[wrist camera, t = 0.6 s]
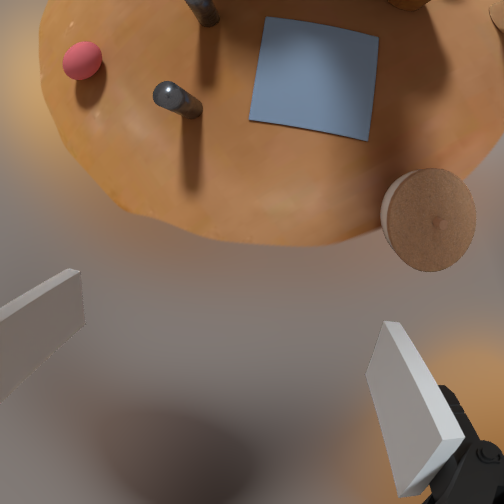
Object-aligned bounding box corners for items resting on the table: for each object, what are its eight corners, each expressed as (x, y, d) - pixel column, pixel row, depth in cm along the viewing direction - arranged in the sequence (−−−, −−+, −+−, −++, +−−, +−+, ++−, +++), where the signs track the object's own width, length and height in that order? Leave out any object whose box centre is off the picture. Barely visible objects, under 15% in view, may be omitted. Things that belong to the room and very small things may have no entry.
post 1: (183, 97, 35) (155, 81, 26) (204, 99, 35) (180, 81, 26) (180, 118, 36) (150, 106, 27) (200, 119, 36) (176, 107, 27)
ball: (82, 49, 34) (60, 40, 29) (112, 45, 34) (92, 33, 28) (74, 84, 35) (51, 77, 30) (104, 81, 35) (82, 73, 30)
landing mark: (265, 17, 31) (265, 16, 31) (378, 38, 30) (378, 37, 30) (248, 119, 35) (248, 119, 35) (367, 141, 34) (367, 141, 34)
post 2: (201, 10, 32) (180, -23, 23) (221, 10, 31) (204, -24, 23) (197, 26, 32) (175, -5, 24) (217, 27, 32) (199, -6, 23)
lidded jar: (439, 161, 34) (478, 162, 25) (449, 243, 36) (486, 264, 27) (362, 174, 35) (385, 178, 26) (376, 261, 38) (400, 288, 29)
